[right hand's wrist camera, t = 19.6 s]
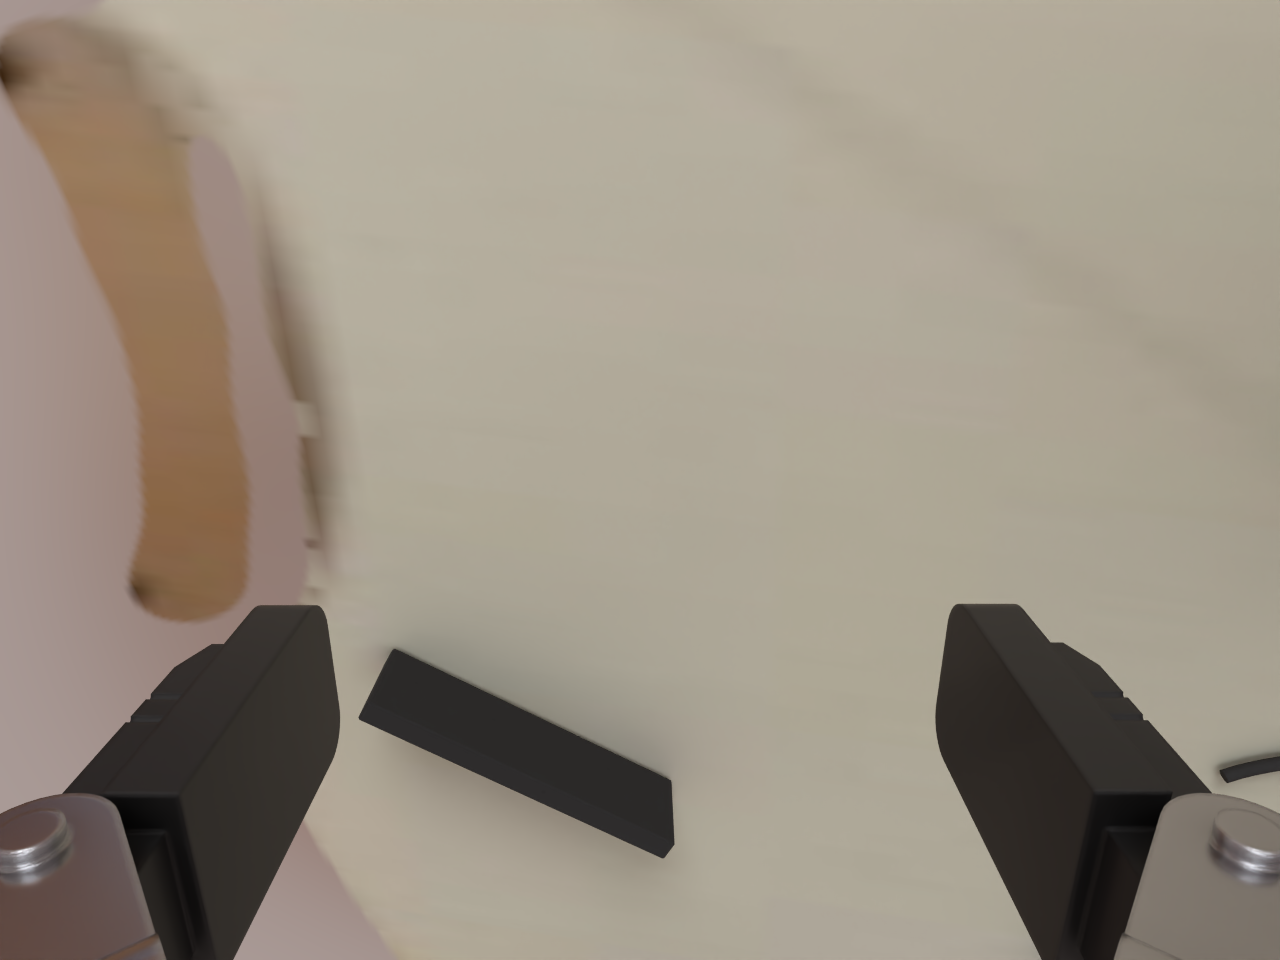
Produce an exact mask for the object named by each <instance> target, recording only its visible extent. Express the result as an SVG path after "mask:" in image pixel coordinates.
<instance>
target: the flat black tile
mask: <svg viewBox="0 0 1280 960" xmlns="http://www.w3.org/2000/svg"><path fill="white" fill-rule="evenodd" d="M359 720H361V721H363V722H366V723H368V724H370V725H372V726H374V727H377V728H379V729H381V730H383V731H385V732H388V733H390V734H392V735H394V736H396V737H398V738H401V739H403V740H405V741H407V742H409V743H412V744H414V745H416V746H418V747H420V748H422V749H425V750H427V751H429V752H431V753H433V754H436V755H438V756H440V757H442V758H444V759H446V760H449V761H451V762H453V763H455V764H457V765H460V766H462V767H464V768H466V769H468V770H471V771H473V772H475V773H477V774H479V775H481V776H484V777H486V778H488V779H490V780H492V781H495V782H497V783H499V784H501V785H503V786H505V787H508V788H510V789H512V790H514V791H516V792H519V793H521V794H523V795H525V796H527V797H529V798H532V799H534V800H536V801H538V802H540V803H543V804H545V805H547V806H549V807H551V808H553V809H556V810H558V811H560V812H562V813H564V814H567V815H569V816H571V817H573V818H575V819H578V820H580V821H582V822H584V823H586V824H588V825H591V826H593V827H595V828H597V829H599V830H602V831H604V832H606V833H608V834H610V835H612V836H615V837H617V838H619V839H621V840H623V841H626V842H628V843H630V844H632V845H634V846H636V847H639V848H641V849H643V850H645V851H647V852H650V853H652V854H654V855H656V856H658V857H660V858H665V856H666V855H667V854H668V852H669V851H670V850H671V848H672V847H673V846H674V825H673V804H672V784H671V780H669V779H667V778H664V777H662V776H660V775H658V774H656V773H654V772H652V771H650V770H648V769H646V768H644V767H641V766H639V765H637V764H635V763H633V762H631V761H629V760H627V759H625V758H623V757H620V756H618V755H616V754H614V753H612V752H610V751H608V750H606V749H604V748H602V747H599V746H597V745H595V744H593V743H591V742H589V741H587V740H585V739H583V738H581V737H579V736H576V735H574V734H572V733H570V732H568V731H566V730H564V729H562V728H560V727H558V726H555V725H553V724H551V723H549V722H547V721H545V720H543V719H541V718H539V717H537V716H534V715H532V714H530V713H528V712H526V711H524V710H522V709H520V708H518V707H516V706H514V705H511V704H509V703H507V702H505V701H503V700H501V699H499V698H497V697H495V696H493V695H490V694H488V693H486V692H484V691H482V690H480V689H478V688H476V687H474V686H472V685H469V684H467V683H465V682H463V681H461V680H459V679H457V678H455V677H453V676H451V675H449V674H446V673H444V672H442V671H440V670H438V669H436V668H434V667H432V666H430V665H428V664H425V663H423V662H421V661H419V660H417V659H415V658H413V657H411V656H409V655H407V654H404V653H402V652H400V651H398V650H396V649H393V650H392V652H391V654H390V655H389V657H388V659H387V661H386V663H385V664H384V666H383V669H382V671H381V673H380V675H379V677H378V679H377V681H376V683H375V685H374V687H373V689H372V691H371V693H370V695H369V697H368V699H367V701H366V703H365V705H364V707H363V709H362V711H361V713H360V715H359Z"/></svg>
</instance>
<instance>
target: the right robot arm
mask: <svg viewBox="0 0 1280 960" xmlns="http://www.w3.org/2000/svg"><path fill="white" fill-rule="evenodd" d="M339 730H340V709H339V701H338V694H337V687H336V680H335V673H334V666H333V659H332V652H331V645H330V638H329V631H328V624H327V619H326V616H325V613H324V611H323V610H322V608H321V607H320V606H317V605H260V606H257V607H255V608H254V609H253V610H252V611H251V612H250V613H249V615H248V616H247V617H246V618H245V619H244V621H243V622H242V623H241V624H240V625H239V627H238V628H237V629H236V630H235V631H234V633H233V634H232V635H231V636H230V637H229V639H228V640H227V641H226V642H225V643H224V644H211V645H210V646H208V647H206V648H205V649H203V650H202V651H200V652H198V653H197V654H195V655H194V656H192V657H190V658H189V659H187V660H185V661H184V662H182V663H181V664H179V665H177V666H176V667H174V669H173V670H172V671H171V672H170V673H169V674H168V675H167V676H166V678H165V679H164V680H163V681H162V682H161V683H160V684H159V685H158V687H157V688H156V689H155V690H154V691H153V692H152V693H151V698H150V699H148V700H147V699H146V700H145V701H144V702H143V703H142V705H141V706H140V707H139V708H138V709H137V710H136V711H135V712H134V714H133V715H132V716H131V721H130V722H126V723H125V724H124V725H123V726H122V727H121V728H120V729H119V731H118V732H117V733H116V734H115V735H114V736H113V737H112V738H111V739H110V741H109V742H108V743H107V744H106V745H105V746H104V747H103V748H102V750H101V751H100V752H99V753H98V754H97V755H96V756H95V757H94V759H93V760H92V761H91V762H90V763H89V764H88V765H87V766H86V768H85V769H84V770H83V771H82V772H81V773H80V774H79V775H78V777H77V778H76V779H75V780H74V781H73V782H72V783H71V784H70V786H69V787H68V788H67V789H66V790H65V791H64V792H63V794H60V795H53V796H49V797H44V798H40V799H37V800H33V801H30V802H27V803H24V804H22V805H19V806H17V807H14V808H11V809H9V810H7V811H5V812H3V813H1V814H0V960H233V959H234V957H235V955H236V953H237V951H238V949H239V947H240V945H241V943H242V941H243V939H244V937H245V935H246V933H247V931H248V929H249V927H250V925H251V923H252V921H253V919H254V917H255V915H256V913H257V911H258V909H259V907H260V905H261V903H262V901H263V899H264V897H265V895H266V893H267V891H268V889H269V887H270V885H271V883H272V881H273V879H274V877H275V875H276V873H277V871H278V869H279V867H280V865H281V863H282V861H283V859H284V857H285V855H286V853H287V851H288V849H289V847H290V845H291V843H292V841H293V838H294V837H295V835H296V833H297V831H298V829H299V827H300V825H301V823H302V821H303V819H304V817H305V815H306V813H307V811H308V809H309V807H310V805H311V803H312V801H313V799H314V797H315V794H316V792H317V790H318V788H319V786H320V784H321V782H322V780H323V778H324V776H325V774H326V772H327V770H328V768H329V766H330V764H331V762H332V760H333V758H334V755H335V752H336V748H337V744H338V738H339ZM936 733H937V739H938V744H939V748H940V752H941V755H942V757H943V760H944V762H945V764H946V766H947V768H948V770H949V772H950V774H951V776H952V778H953V780H954V782H955V784H956V786H957V788H958V790H959V792H960V794H961V796H962V798H963V800H964V803H965V805H966V807H967V809H968V811H969V813H970V815H971V817H972V819H973V821H974V823H975V825H976V827H977V829H978V831H979V833H980V835H981V837H982V839H983V841H984V843H985V845H986V847H987V849H988V851H989V853H990V855H991V857H992V859H993V861H994V863H995V865H996V867H997V870H998V872H999V874H1000V876H1001V878H1002V880H1003V882H1004V884H1005V886H1006V888H1007V890H1008V892H1009V894H1010V896H1011V898H1012V900H1013V902H1014V904H1015V906H1016V908H1017V910H1018V912H1019V914H1020V916H1021V918H1022V920H1023V922H1024V924H1025V926H1026V928H1027V930H1028V932H1029V935H1030V937H1031V939H1032V941H1033V943H1034V945H1035V947H1036V949H1037V951H1038V953H1039V955H1040V957H1041V959H1042V960H1280V814H1279V813H1277V812H1275V811H1273V810H1271V809H1269V808H1266V807H1263V806H1261V805H1258V804H1256V803H1253V802H1250V801H1247V800H1243V799H1240V798H1236V797H1231V796H1227V795H1220V794H1213V793H1211V791H1210V790H1209V789H1208V788H1207V787H1206V786H1205V785H1204V783H1203V782H1202V781H1201V780H1200V779H1199V778H1198V777H1197V775H1196V774H1195V773H1194V772H1193V771H1192V770H1191V769H1190V768H1189V766H1188V765H1187V764H1186V763H1185V762H1184V761H1183V760H1182V758H1181V757H1180V756H1179V755H1178V754H1177V753H1176V752H1175V751H1174V749H1173V748H1172V747H1171V746H1170V745H1169V744H1168V743H1167V741H1166V740H1165V739H1164V738H1163V737H1162V736H1161V735H1160V733H1159V732H1158V731H1157V730H1156V729H1155V728H1154V727H1153V726H1152V724H1151V723H1150V722H1149V721H1148V720H1143V714H1142V713H1141V712H1140V711H1139V710H1138V708H1137V707H1136V706H1135V705H1134V704H1133V703H1132V702H1131V701H1130V699H1129V698H1124V697H1123V691H1122V690H1121V689H1120V688H1119V687H1118V686H1117V685H1116V683H1115V682H1114V681H1113V680H1112V679H1111V678H1110V677H1109V676H1108V674H1107V673H1106V672H1105V671H1104V670H1103V669H1102V668H1101V666H1100V665H1098V664H1096V663H1095V662H1093V661H1092V660H1090V659H1088V658H1087V657H1085V656H1084V655H1082V654H1080V653H1079V652H1077V651H1076V650H1074V649H1072V648H1071V647H1069V646H1068V645H1066V644H1064V643H1050V641H1049V640H1048V639H1047V638H1046V636H1045V635H1044V634H1043V633H1042V632H1041V630H1040V629H1039V628H1038V627H1037V626H1036V624H1035V623H1034V622H1033V621H1032V619H1031V618H1030V617H1029V616H1028V615H1027V613H1026V612H1025V611H1024V610H1023V609H1022V608H1021V607H1020V606H1019V605H1017V604H957V605H955V606H954V607H953V609H952V610H951V613H950V615H949V619H948V624H947V632H946V639H945V646H944V653H943V660H942V667H941V675H940V682H939V689H938V696H937V703H936ZM1275 771H1280V756H1279V757H1273V758H1268V759H1262V760H1257V761H1252V762H1248V763H1244V764H1240V765H1236V766H1232V767H1229V768H1226V769H1223V770H1220V774H1221V776H1222V777H1223V779H1224V780H1225V781H1226V782H1227V783H1229V782H1232V781H1236V780H1239V779H1242V778H1246V777H1250V776H1254V775H1259V774H1264V773H1270V772H1275Z"/></svg>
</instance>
